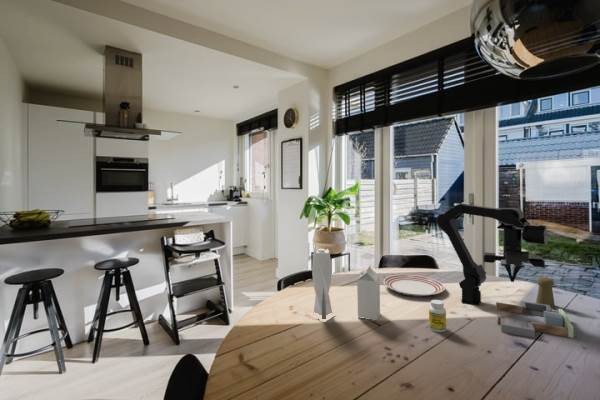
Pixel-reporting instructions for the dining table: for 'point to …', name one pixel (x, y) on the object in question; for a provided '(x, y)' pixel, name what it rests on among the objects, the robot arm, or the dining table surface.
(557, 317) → the slate block
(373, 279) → the milk carton
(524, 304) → the trap pockets
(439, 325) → the supplement bottle
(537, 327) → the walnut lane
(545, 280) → the cork
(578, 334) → the dining table surface
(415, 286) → the dinner plate
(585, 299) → the dining table surface
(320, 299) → the skyscraper
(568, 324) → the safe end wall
